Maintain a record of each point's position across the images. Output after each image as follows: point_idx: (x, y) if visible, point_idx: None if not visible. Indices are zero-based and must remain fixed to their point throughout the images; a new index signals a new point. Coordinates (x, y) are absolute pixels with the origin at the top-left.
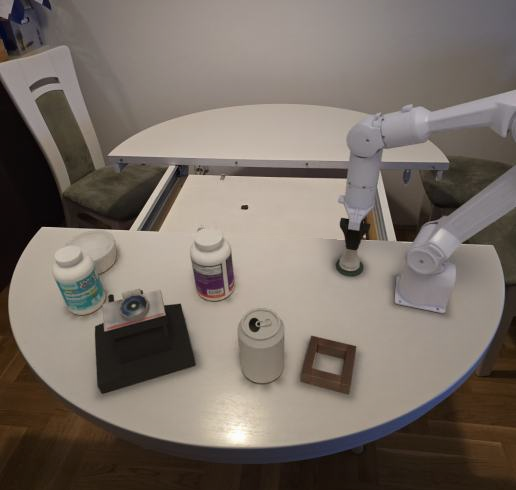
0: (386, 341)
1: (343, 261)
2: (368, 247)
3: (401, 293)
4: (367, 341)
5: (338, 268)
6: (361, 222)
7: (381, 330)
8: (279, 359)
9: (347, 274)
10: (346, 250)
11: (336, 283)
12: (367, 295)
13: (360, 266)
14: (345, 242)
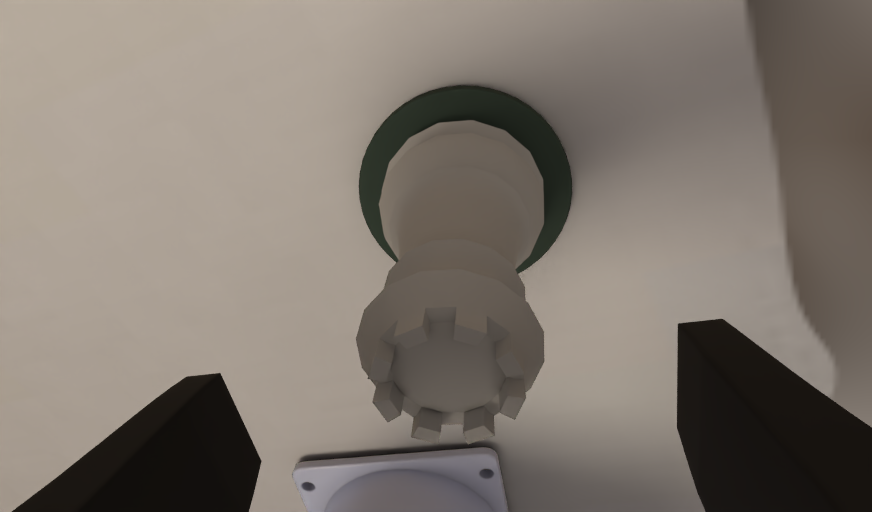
0: (69, 459)
1: (400, 185)
2: (750, 255)
3: (340, 503)
4: (6, 401)
5: (391, 130)
6: (713, 505)
7: (107, 436)
8: None
9: (364, 209)
10: (415, 244)
11: (255, 159)
12: (274, 346)
13: None
14: (95, 447)
